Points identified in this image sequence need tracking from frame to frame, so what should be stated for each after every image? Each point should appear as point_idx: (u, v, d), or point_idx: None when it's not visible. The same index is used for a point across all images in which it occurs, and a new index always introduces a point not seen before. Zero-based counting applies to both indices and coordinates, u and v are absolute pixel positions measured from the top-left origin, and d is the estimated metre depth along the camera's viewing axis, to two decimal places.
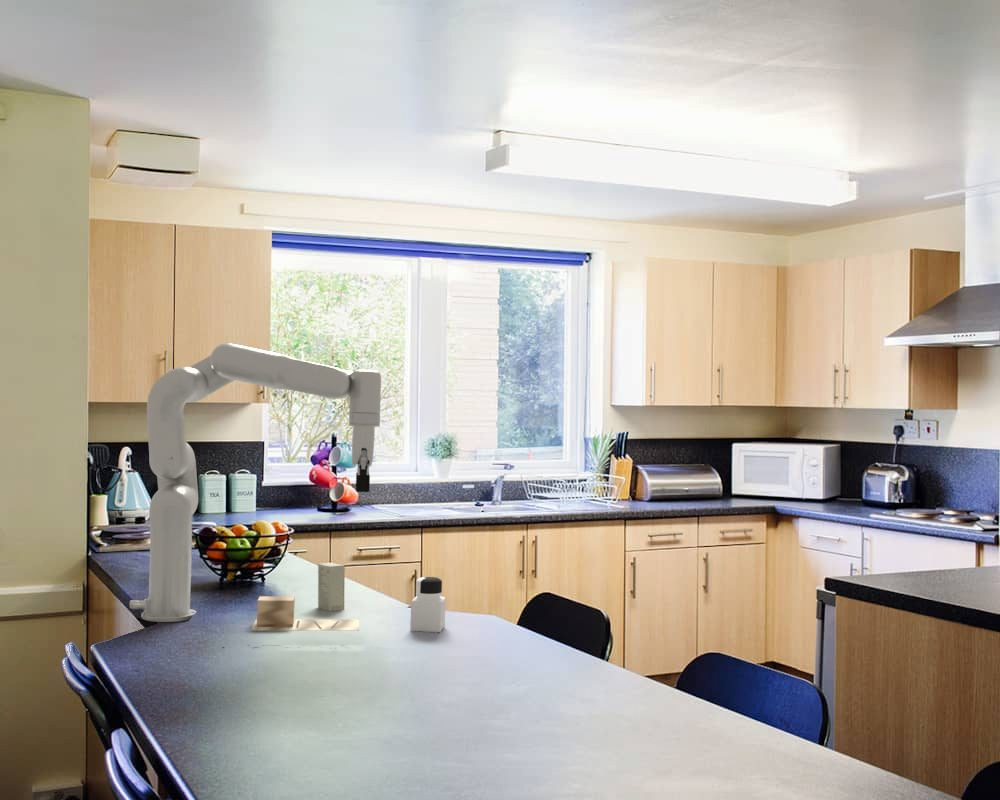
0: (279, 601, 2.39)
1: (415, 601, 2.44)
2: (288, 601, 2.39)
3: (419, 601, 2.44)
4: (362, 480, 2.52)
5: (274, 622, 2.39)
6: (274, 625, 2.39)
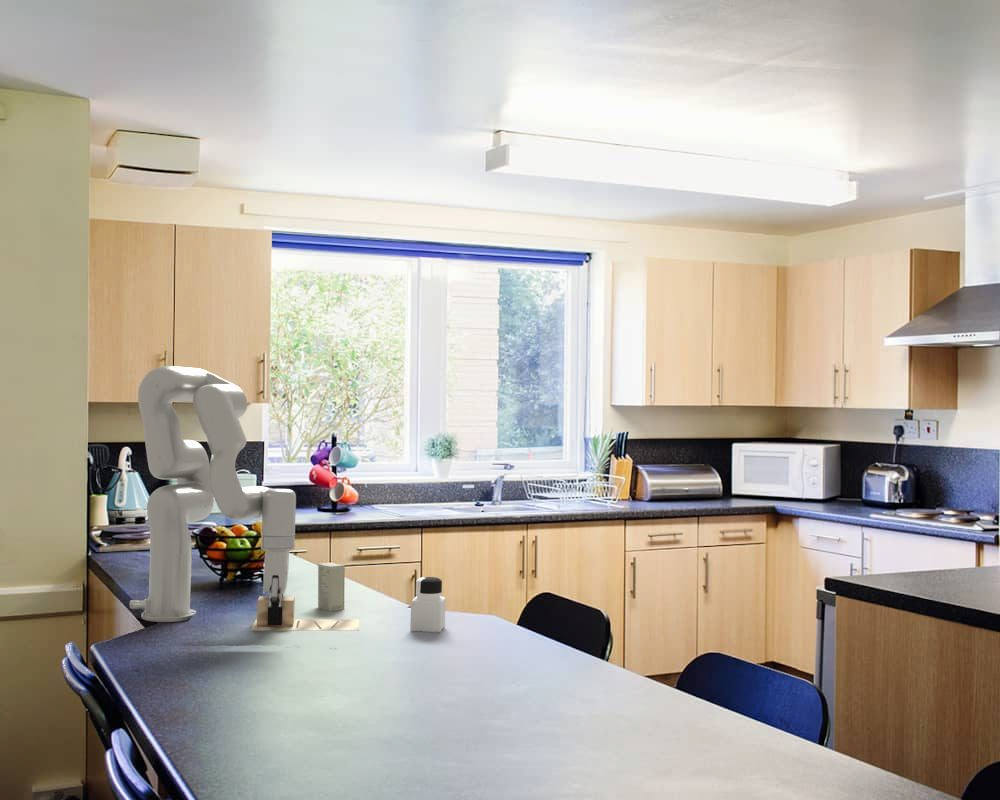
0: None
1: (415, 601, 2.44)
2: (288, 601, 2.39)
3: (419, 601, 2.44)
4: (274, 613, 2.37)
5: None
6: (274, 625, 2.39)
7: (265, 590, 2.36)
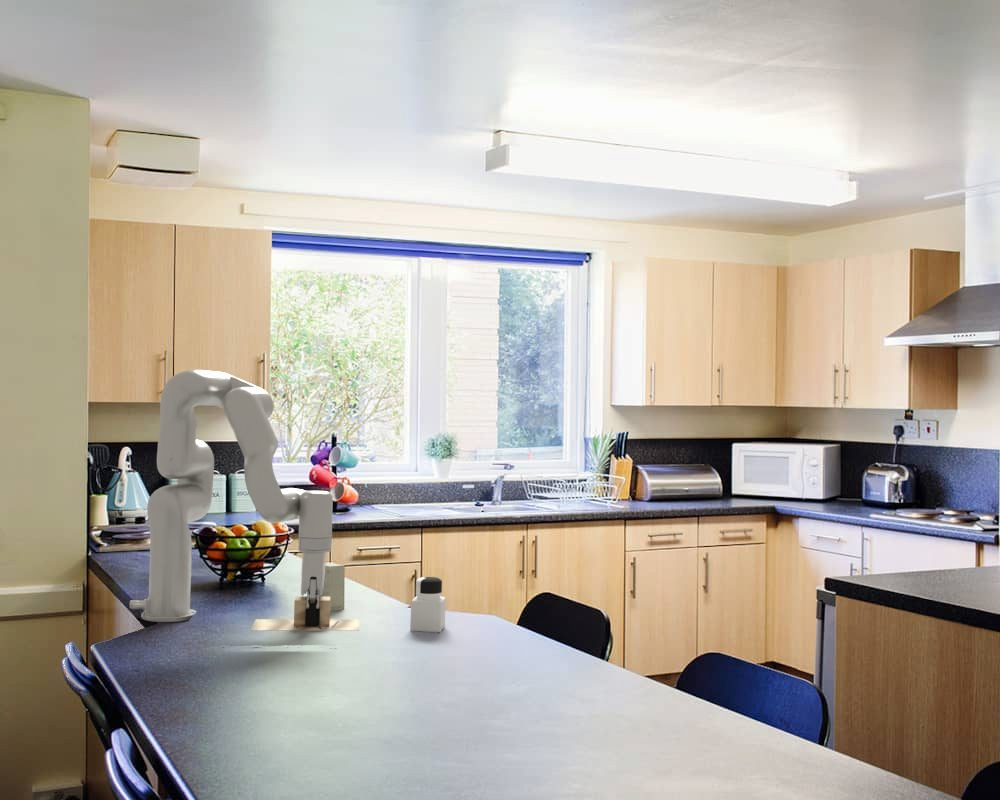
0: None
1: (415, 601, 2.44)
2: (325, 601, 2.40)
3: (419, 601, 2.44)
4: (312, 614, 2.38)
5: None
6: None
7: (303, 591, 2.37)
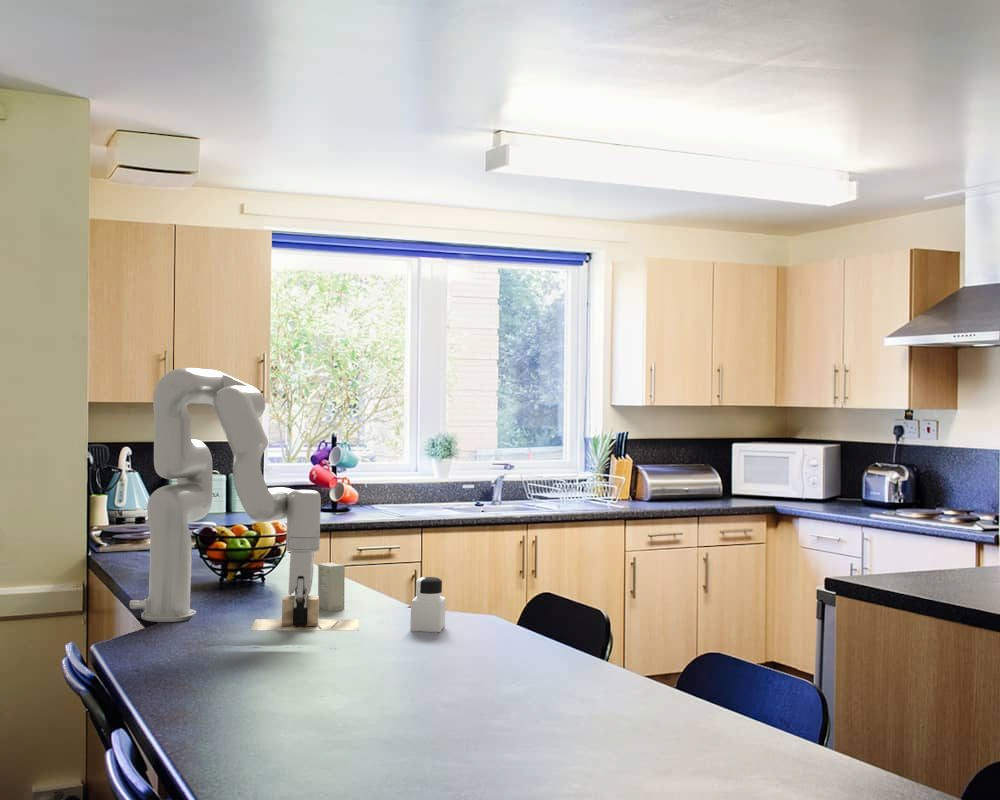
0: None
1: (415, 601, 2.44)
2: (313, 600, 2.40)
3: (419, 601, 2.44)
4: (299, 614, 2.38)
5: None
6: None
7: (290, 591, 2.37)
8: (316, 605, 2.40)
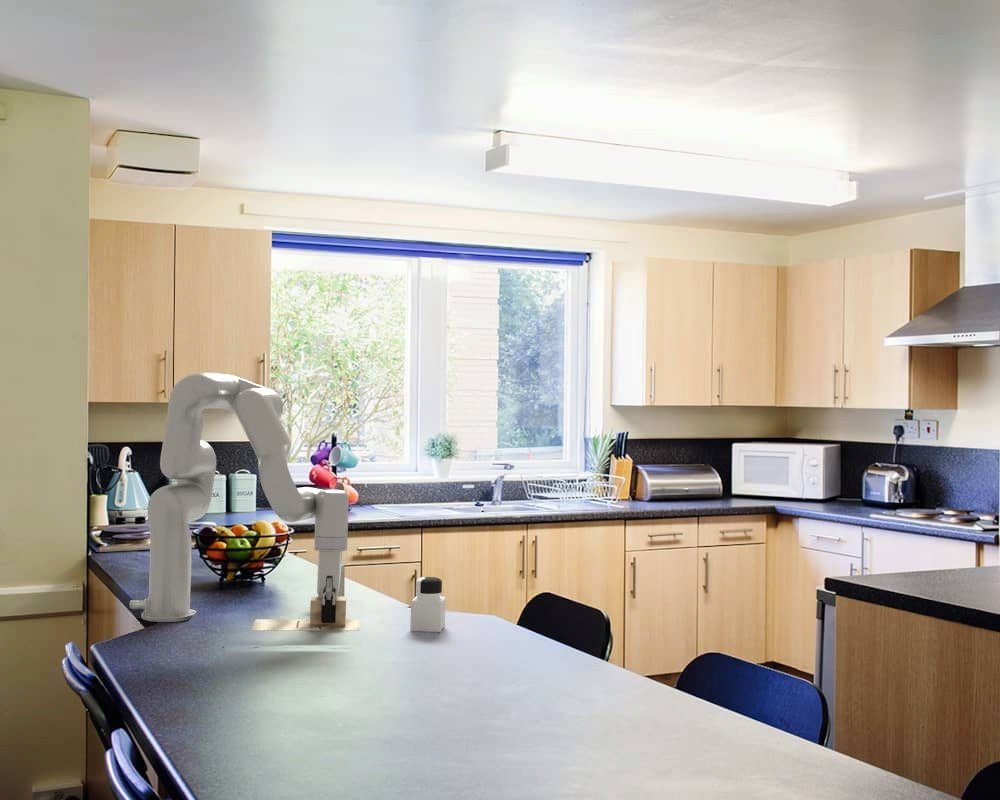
0: (332, 601, 2.40)
1: (415, 601, 2.44)
2: (341, 601, 2.41)
3: (419, 601, 2.44)
4: (328, 611, 2.37)
5: None
6: (327, 625, 2.40)
7: (319, 590, 2.38)
8: (344, 606, 2.41)
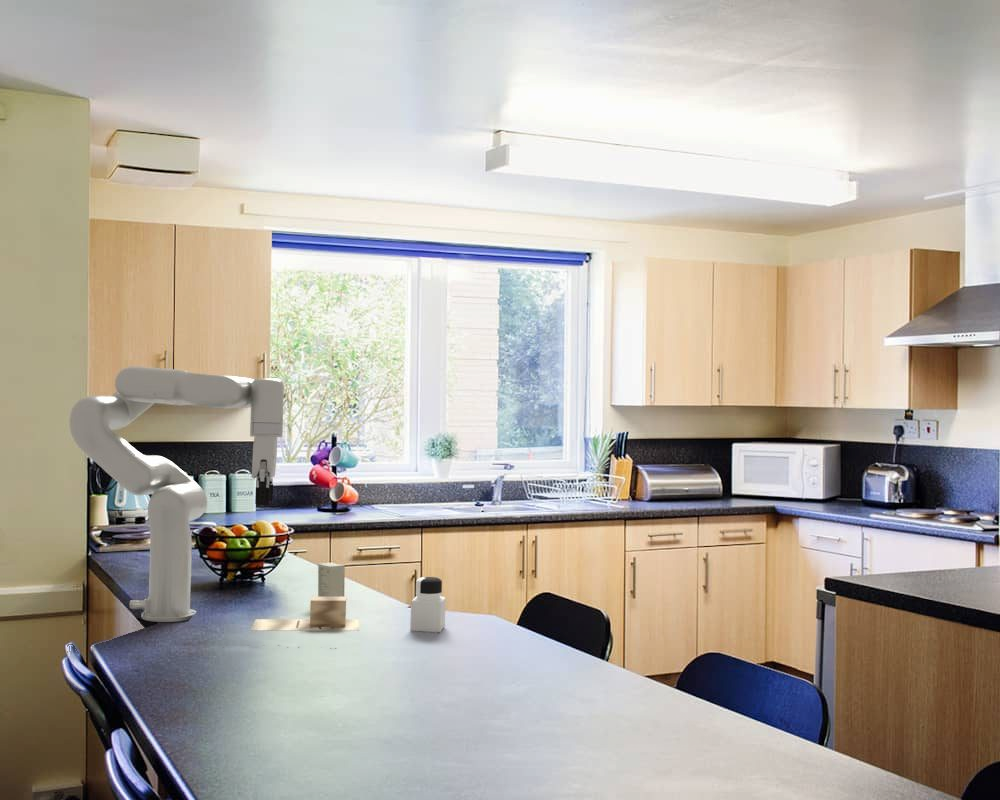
0: (332, 601, 2.40)
1: (415, 601, 2.44)
2: (341, 601, 2.41)
3: (419, 601, 2.44)
4: (262, 493, 2.43)
5: (327, 622, 2.40)
6: (327, 625, 2.40)
7: (254, 474, 2.43)
8: (344, 606, 2.41)
